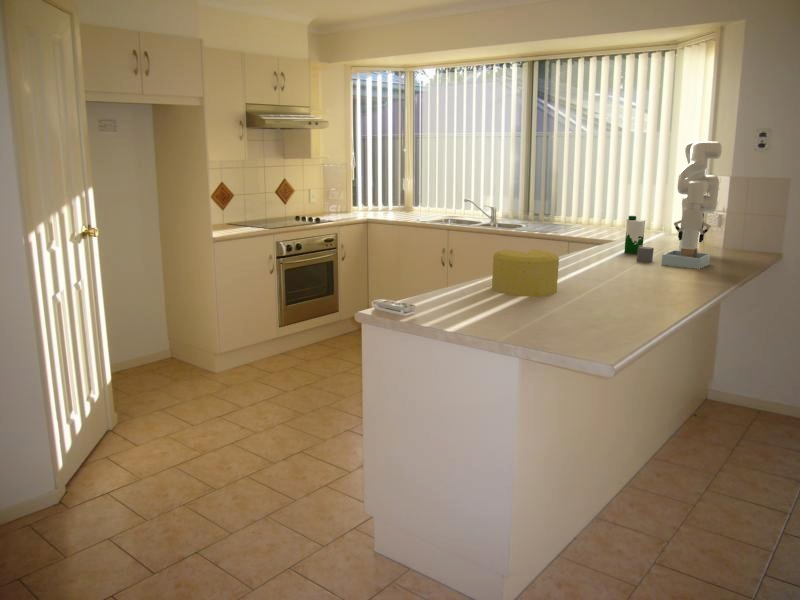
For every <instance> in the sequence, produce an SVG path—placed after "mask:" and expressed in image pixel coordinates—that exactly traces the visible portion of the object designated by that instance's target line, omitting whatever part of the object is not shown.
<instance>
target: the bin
mask: <svg viewBox="0 0 800 600" xmlns="http://www.w3.org/2000/svg"><path fill="white" fill-rule="evenodd" d="M710 263H711V253H705V252H704V253H703V252H702V253H701V252H700V253H697V257H696V258H694V257H684V256H681V251H677V250H676V249H674V250H671V251H667V252H665V253H662V256H661V266H666V265H668V266H667V267H675V266H679V267H678V268H683V267H687V268H686V269H691V268H697V269H696V270H701V269H703V268H705V267H707V266H710ZM704 266H705V267H704ZM702 267H703V268H702ZM700 268H701V269H700Z"/></svg>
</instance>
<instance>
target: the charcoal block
mask: <svg viewBox="0 0 800 600" xmlns="http://www.w3.org/2000/svg"><path fill="white" fill-rule="evenodd" d="M653 260H654V247H649V246H643V247H639V248H638V252H637V254H636V262H639V263H646V262H647V264H648V263H651V261H652V262H653Z"/></svg>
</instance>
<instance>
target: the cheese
mask: <svg viewBox="0 0 800 600" xmlns="http://www.w3.org/2000/svg"><path fill="white" fill-rule="evenodd" d="M492 259H493V260H492V278H491V281H492V282H491V289H492V290H493V291H495V292H497V293H499V294H504V295H508V296H517V297H548V296H552V295H555V294H557V292H558V280H559V279H558V278H559V277H558V276H559V266H560V265H559V264H560V263H559V262H560V257H559V256H558V255H557V254H556V253H554V252H552V251H548V250H541V249H540V250H539V249H532V248H531V249H530V250H529V251H527V252H524V251H523V252H522V251H518V250H514V249H502V250H500V251H496V252H495V253H493V258H492Z"/></svg>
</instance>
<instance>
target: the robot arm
mask: <svg viewBox="0 0 800 600" xmlns="http://www.w3.org/2000/svg"><path fill="white" fill-rule="evenodd" d="M722 148H723V147H722V144H721V142H719V141H698V140H697V141H689V142H687V143H686V144H685V148H684V149H685V150H684V151H685V153H684V154H685V158H686V160H687V164H688V165H686V166H685V167H684V168H683V169H682V170H681V171H680V173H679V175H678V180H677V192H678V193H679V194H680V195H684V197H682V198H681V199H682V201H681V220H677V221H675V222H674V223H673V225H674V228H675V229H676V231H677V232H678V234H677V239H678V241H679V243H678V248H675V250H677V251H681V248H684V247H690V248H698V245H699V243H703V241H704V238H705V237H704V236H705V234H706V233H708V232H709V230H710V229H711V226H712V225H710V224H709V223H707V222H705V214H713V213H714V212H715V213H716V210H717V208H718V207H717V206H718V196H719V189H720V187H719V185H720V180H719V179H720V178H719V176H717V175H714V174H706V170H707V167H708V161H709V160H708V159H712V160H715V159H720V157H721V155H722V150H723V149H722ZM707 194H708V195H707ZM679 224H680V226H679ZM704 227H705V229H704ZM697 253H701V250H700V249H697Z"/></svg>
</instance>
